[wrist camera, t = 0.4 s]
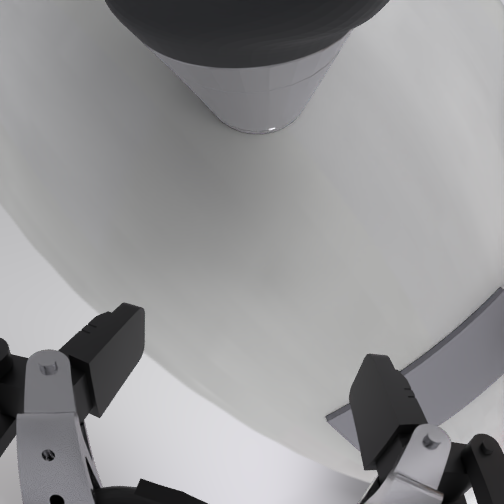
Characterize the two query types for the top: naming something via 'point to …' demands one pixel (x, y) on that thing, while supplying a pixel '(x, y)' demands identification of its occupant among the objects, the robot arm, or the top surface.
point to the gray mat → (450, 369)
